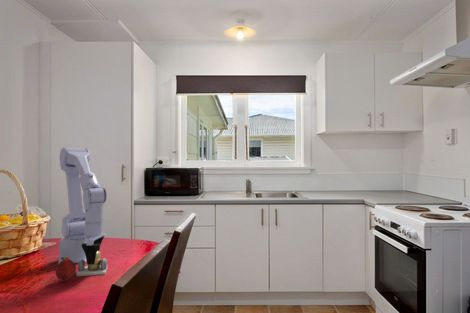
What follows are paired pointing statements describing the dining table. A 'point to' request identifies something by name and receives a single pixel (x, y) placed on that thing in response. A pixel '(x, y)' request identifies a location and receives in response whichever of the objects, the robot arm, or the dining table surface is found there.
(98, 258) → the cylinder
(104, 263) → the fitting
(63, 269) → the onion
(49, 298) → the dining table surface
